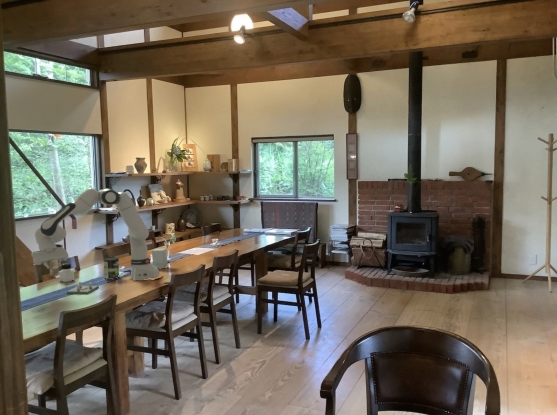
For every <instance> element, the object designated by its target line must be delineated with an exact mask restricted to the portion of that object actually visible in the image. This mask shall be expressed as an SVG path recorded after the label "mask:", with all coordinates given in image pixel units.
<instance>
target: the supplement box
mask: <svg viewBox="0 0 557 415" xmlns="http://www.w3.org/2000/svg"><path fill="white" fill-rule="evenodd" d="M167 250H168V249H167V248H154V249H152V250H151V255H152V256H151V258H152V259H151V261H152V264H153V265H154V266H155V267H157V268H165V267H166V266H167V267H168V252H167ZM167 267H166V268H167ZM166 268H165V269H166Z"/></svg>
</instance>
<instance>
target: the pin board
mask: <svg viewBox="0 0 557 415" xmlns="http://www.w3.org/2000/svg"><path fill="white" fill-rule="evenodd" d="M82 284H83V283H82V281H78V284H76V286H75V287H73V288H71V289H69V290H67V291H66V293H67V294H68V295H72V294H74V295H75V294H76V295H88V293H89V294H91V293H92V292H94V291H97V290H98V289H99V285H93V284H92V281H91V282H88V285H82ZM97 288H98V289H97ZM90 292H91V293H90Z"/></svg>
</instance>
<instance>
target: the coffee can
mask: <svg viewBox="0 0 557 415" xmlns="http://www.w3.org/2000/svg"><path fill="white" fill-rule="evenodd" d="M119 261H120V260H119V257H106V258H103V272H104V279H105V278H106V279H105V280H107V279H112V278H116V277H118V275H119V276H120V267H119V266H120V264H119ZM112 280H113V279H112Z"/></svg>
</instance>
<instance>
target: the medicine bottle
mask: <svg viewBox="0 0 557 415" xmlns="http://www.w3.org/2000/svg"><path fill="white" fill-rule="evenodd" d="M60 268H61V270H59V275H58V276H59V281H60V282H62V281H63V282H62V283H68V282H73V281H75V270H74V269H72V264H71V263H68V262H67V263H61V267H60ZM72 280H73V281H72Z"/></svg>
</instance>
